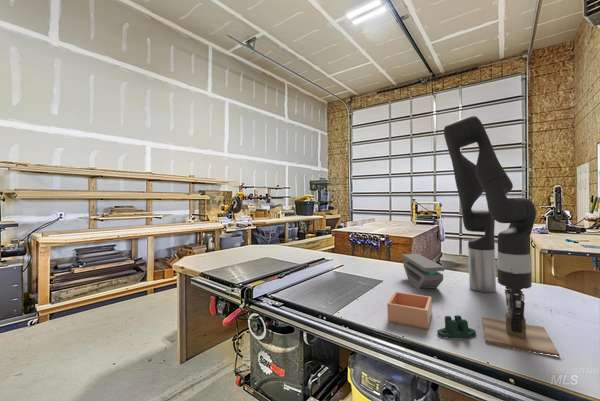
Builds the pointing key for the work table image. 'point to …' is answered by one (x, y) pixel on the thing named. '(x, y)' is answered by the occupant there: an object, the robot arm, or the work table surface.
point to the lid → (518, 336)
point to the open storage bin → (410, 309)
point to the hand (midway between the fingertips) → (515, 327)
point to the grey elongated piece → (422, 271)
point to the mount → (456, 328)
